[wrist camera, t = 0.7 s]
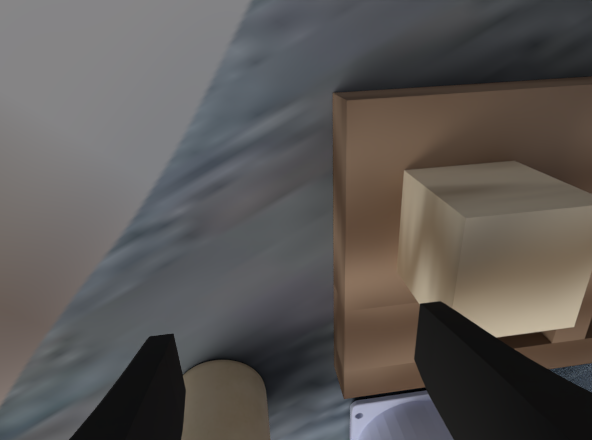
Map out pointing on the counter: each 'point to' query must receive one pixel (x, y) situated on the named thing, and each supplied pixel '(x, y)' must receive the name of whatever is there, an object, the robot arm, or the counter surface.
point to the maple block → (496, 245)
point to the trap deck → (388, 198)
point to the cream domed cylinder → (225, 403)
